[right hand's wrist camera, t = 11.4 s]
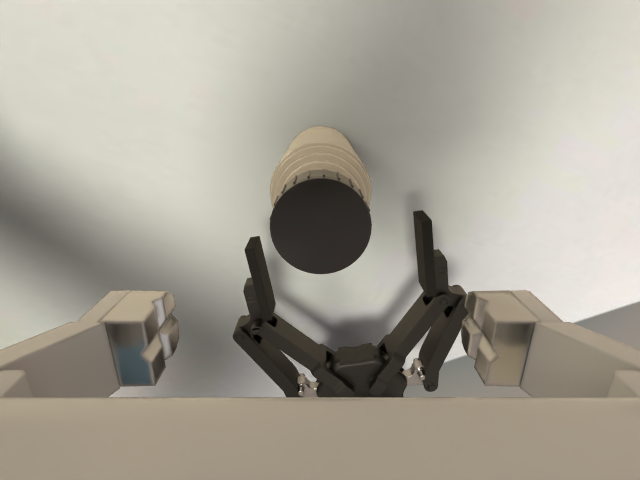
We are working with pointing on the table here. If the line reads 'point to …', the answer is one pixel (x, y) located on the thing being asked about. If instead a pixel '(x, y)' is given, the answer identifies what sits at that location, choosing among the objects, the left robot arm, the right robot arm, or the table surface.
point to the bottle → (320, 160)
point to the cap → (320, 222)
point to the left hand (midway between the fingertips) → (335, 228)
